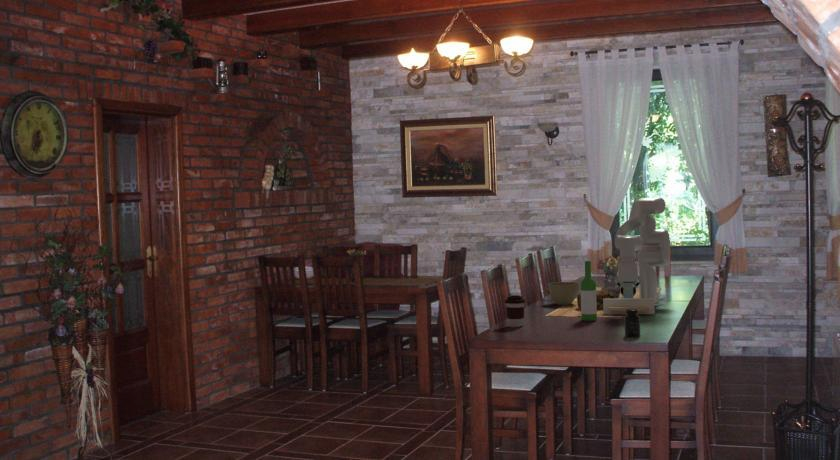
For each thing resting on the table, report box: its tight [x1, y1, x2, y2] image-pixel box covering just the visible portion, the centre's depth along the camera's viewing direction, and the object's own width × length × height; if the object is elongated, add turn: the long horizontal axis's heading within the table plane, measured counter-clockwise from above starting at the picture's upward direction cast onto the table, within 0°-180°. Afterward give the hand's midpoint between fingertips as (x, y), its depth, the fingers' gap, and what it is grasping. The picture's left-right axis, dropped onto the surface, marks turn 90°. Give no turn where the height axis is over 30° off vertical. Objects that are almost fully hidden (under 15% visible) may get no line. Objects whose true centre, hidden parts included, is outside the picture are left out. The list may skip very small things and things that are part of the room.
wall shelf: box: [602, 298, 656, 315], centre depth 441 cm, size 11×26×8 cm, turn 76°
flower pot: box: [547, 281, 580, 306], centre depth 486 cm, size 18×18×12 cm
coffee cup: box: [504, 294, 526, 328], centre depth 414 cm, size 10×10×15 cm
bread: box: [576, 289, 616, 310], centre depth 466 cm, size 19×11×10 cm, turn 97°
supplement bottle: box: [623, 309, 641, 338], centre depth 377 cm, size 7×7×12 cm
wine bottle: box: [580, 260, 598, 322], centre depth 424 cm, size 8×8×30 cm
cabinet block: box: [622, 282, 634, 299], centre depth 436 cm, size 7×5×8 cm
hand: (628, 294), depth 437 cm, fingers closed on cabinet block, 5 cm apart
